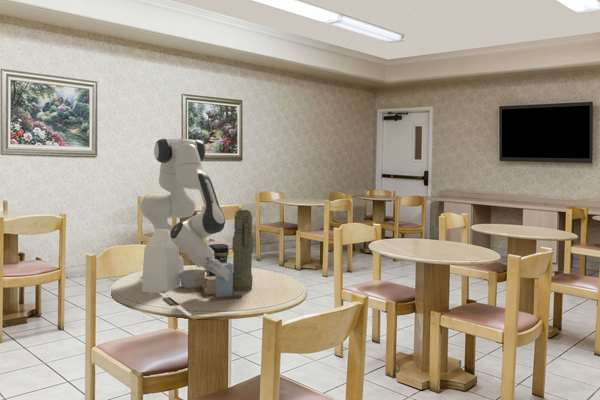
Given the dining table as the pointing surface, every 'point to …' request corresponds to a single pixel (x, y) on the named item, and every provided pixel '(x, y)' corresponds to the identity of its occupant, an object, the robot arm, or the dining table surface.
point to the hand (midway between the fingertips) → (225, 278)
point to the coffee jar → (219, 254)
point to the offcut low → (208, 289)
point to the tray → (213, 297)
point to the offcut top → (209, 281)
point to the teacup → (193, 278)
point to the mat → (170, 301)
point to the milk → (160, 263)
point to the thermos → (242, 251)
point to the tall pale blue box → (224, 283)
